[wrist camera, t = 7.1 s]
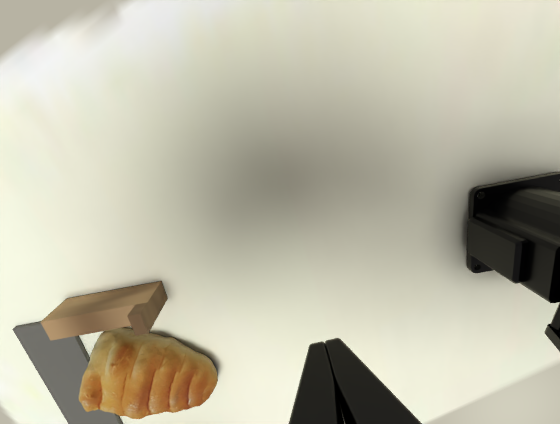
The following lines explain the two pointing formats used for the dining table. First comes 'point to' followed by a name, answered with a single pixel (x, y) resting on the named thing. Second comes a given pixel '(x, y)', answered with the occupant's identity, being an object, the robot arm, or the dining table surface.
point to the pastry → (144, 375)
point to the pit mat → (62, 372)
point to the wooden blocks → (107, 311)
